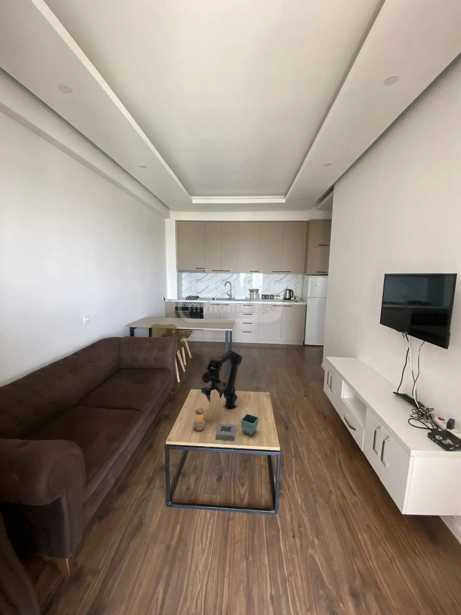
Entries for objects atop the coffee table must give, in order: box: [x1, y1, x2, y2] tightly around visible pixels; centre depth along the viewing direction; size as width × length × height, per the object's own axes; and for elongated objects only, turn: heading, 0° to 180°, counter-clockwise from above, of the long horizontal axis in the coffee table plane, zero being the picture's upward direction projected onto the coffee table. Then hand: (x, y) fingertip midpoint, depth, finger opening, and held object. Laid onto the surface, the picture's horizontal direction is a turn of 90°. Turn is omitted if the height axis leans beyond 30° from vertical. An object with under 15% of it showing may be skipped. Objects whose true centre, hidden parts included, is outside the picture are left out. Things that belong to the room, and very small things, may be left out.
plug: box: [193, 408, 206, 432], centre depth 160 cm, size 7×7×12 cm
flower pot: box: [240, 413, 260, 436], centre depth 157 cm, size 9×9×9 cm
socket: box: [215, 423, 236, 441], centre depth 155 cm, size 11×11×3 cm
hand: (215, 399), depth 171 cm, fingers open, 9 cm apart
